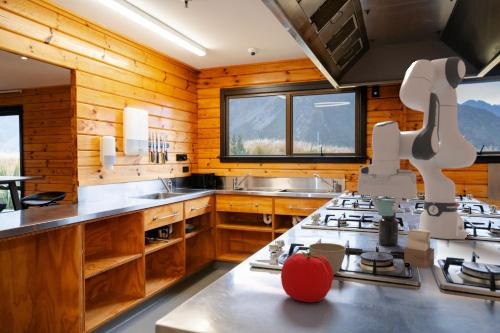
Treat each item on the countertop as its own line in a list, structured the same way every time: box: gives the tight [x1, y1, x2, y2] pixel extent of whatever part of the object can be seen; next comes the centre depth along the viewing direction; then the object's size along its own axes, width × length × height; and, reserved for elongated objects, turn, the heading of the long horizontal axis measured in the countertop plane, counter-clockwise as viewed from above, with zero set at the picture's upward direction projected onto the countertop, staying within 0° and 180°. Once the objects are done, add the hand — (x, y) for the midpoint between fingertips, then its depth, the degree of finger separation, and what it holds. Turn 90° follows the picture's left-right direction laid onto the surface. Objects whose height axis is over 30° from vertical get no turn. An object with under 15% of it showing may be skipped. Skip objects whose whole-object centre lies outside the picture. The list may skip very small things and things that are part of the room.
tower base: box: [403, 246, 435, 269], centre depth 105 cm, size 6×6×5 cm
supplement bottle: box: [378, 211, 400, 247], centre depth 130 cm, size 7×7×12 cm
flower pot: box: [308, 242, 347, 276], centre depth 97 cm, size 10×10×7 cm
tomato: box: [280, 250, 334, 303], centre depth 79 cm, size 12×12×10 cm
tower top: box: [406, 228, 431, 251], centre depth 105 cm, size 5×5×5 cm
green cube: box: [377, 198, 395, 217], centre depth 119 cm, size 5×5×5 cm
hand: (385, 209), depth 119 cm, fingers closed on green cube, 5 cm apart
